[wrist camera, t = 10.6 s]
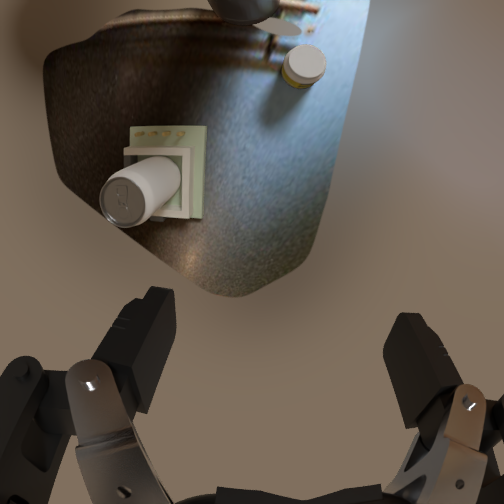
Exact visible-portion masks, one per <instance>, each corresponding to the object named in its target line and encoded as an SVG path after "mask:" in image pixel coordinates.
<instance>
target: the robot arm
mask: <svg viewBox="0 0 504 504" xmlns="http://www.w3.org/2000/svg"><path fill="white" fill-rule="evenodd" d="M208 2H209V4H210V5H211V7H212V9H213V10H214V12H215V13H216V15H217V16H218V17H220V18H221V19H222V20H224V21H226V22H228V23H231V24H235V25H252V24H257V23H260V22H262V21H264V20H266V19H267V18H269V17H270V16H272V15H273V14H274V13H275V11H276V10H277V8H278V6H279V2H280V0H208ZM175 334H176V312H175V298H174V291H173V289H168V288H161V287H155V286H151V287H150V288H149V290H148V291H147V293H146V295H145V296H144V298H143V299H138V298H135V299H134V300H132V301H131V302H129V303H128V304H126V305H125V306H124V307H123V309H122V310H121V312H120V313H119V315H118V318H116V320H115V321H114V323H113V324H112V327H110V329H109V331H108V332H107V334H106V336H105V337H104V339H103V340H102V342H101V343H100V345H99V346H98V348H97V350H96V352H95V353H94V355H93V356H92V358H91V359H87V360H82V361H80V362H77V363H76V364H74V365H73V366H72V367H71V368H70V369H69V371H54V370H43V368H42V366H41V364H40V363H39V361H38V360H37V359H35V358H34V357H30V356H21V357H18V358H16V359H14V360H13V361H11V363H9V364H8V366H7V367H6V369H5V370H4V372H3V373H2V375H1V376H0V504H48V501H49V498H50V495H51V491H52V488H53V485H54V482H55V479H56V475H57V473H58V469H59V466H60V464H61V461H62V458H63V455H64V453H65V450H66V447H67V444H68V442H69V439H70V437H71V435H76V436H77V438H78V442H79V445H78V446H76V448H75V451H76V457H77V461H78V464H79V467H80V470H81V473H82V476H83V479H84V482H85V485H86V487H87V490H88V493H89V495H90V498H91V500H92V503H93V504H174V502H173V500H172V499H171V497H170V495H169V494H168V492H167V490H166V488H165V487H164V485H163V483H162V481H161V480H160V478H159V476H158V474H157V472H156V471H155V469H154V467H153V465H152V463H151V461H150V459H149V457H148V455H147V453H146V451H145V449H144V447H143V444H142V442H141V440H140V438H139V436H138V433H137V431H136V429H135V426H134V424H133V419H134V416H135V413H136V411H137V412H141V413H145V414H147V413H148V410H149V407H150V404H151V401H152V398H153V396H154V393H155V390H156V387H157V384H158V382H159V379H160V376H161V374H162V371H163V368H164V365H165V363H166V360H167V358H168V355H169V352H170V350H171V347H172V344H173V342H174V339H175ZM383 358H384V361H385V364H386V367H387V370H388V373H389V376H390V379H391V382H392V385H393V388H394V391H395V394H396V397H397V401H398V404H399V407H400V410H401V414H402V417H403V421H404V424H405V428H406V429H409V428H415V427H418V429H419V432H418V433H417V434H416V435H415V437H414V439H413V442H412V444H411V446H410V449H409V451H408V453H407V455H406V457H405V459H404V461H403V463H402V465H401V467H400V469H399V471H398V473H397V475H396V476H395V478H394V479H393V480H392V482H391V483H390V484H389V485H388V486H387V487H386V488H385V490H384V491H383V492H382V490H381V484H377V485H371V486H363V487H356V488H347V489H343V490H340V491H337V492H334V493H330V494H327V495H324V496H321V497H317V498H313V499H310V500H297V499H292V498H288V497H283V496H279V495H275V494H271V493H267V492H263V491H257V490H244V489H234V488H224V487H217V491H216V494H205V495H199V496H195V497H191V498H187V499H185V500H182V501H179V502H177V503H175V504H504V474H503V475H502V476H500V472H499V469H498V465H497V461H496V458H495V454H494V451H493V447H494V446H495V445H496V444H497V443H498V442H500V441H501V440H502V439H503V442H504V394H503V396H502V397H501V398H500V399H499V400H498V401H493V400H487V399H485V397H484V395H483V393H482V392H481V391H480V390H479V389H478V388H477V387H475V386H473V385H470V384H464V383H463V381H462V379H461V377H460V375H459V373H458V371H457V369H456V367H455V366H454V363H453V362H452V360H451V358H450V356H448V352H447V350H446V349H445V348H444V345H443V343H442V342H441V340H440V338H439V336H438V335H437V334H436V333H435V332H434V331H433V330H432V329H431V328H430V327H428V326H427V324H426V322H425V321H424V319H423V317H422V316H421V315H420V314H419V313H403V312H402V313H400V314H399V315H398V316H397V318H396V321H395V323H394V325H393V327H392V329H391V332H390V334H389V336H388V338H387V340H386V342H385V344H384V348H383Z"/></svg>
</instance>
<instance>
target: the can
mask: <svg viewBox="0 0 504 504" xmlns="http://www.w3.org/2000/svg"><path fill="white" fill-rule="evenodd" d="M180 182H181V175H180V171H179V168H178V167H177V165H176V164H175V163H174V162H173V161H172V160H171V159H170V158H168V157H165V156H153V157H150V158H147V159H145V160H142V161H140V162H138V163H135V164H133V165H131V166H128V167H126V168H124V169H122V170H120V171H118V172H116V173H115V174H113V175H112V176H111V177H110V178H109V179H108V181H107V182H106V183H105V184H104V186H103V187H102V189H101V192H100V207H101V210H102V212H103V214H104V216H105V217H106V219H107V220H108V221H109V222H111V223H112V224H113V225H115V226H118V227H121V228H129V227H132V226H136V225H139V224H141V223H143V222H145V221H146V220H147V219H148V218H150V217H151V216H152V215H153V214H154V213H155V212H156V211H157V210H158V209H159V208H160V207H161V206H163V205H164V204H165V203H166V202H167V201H168V200H169V199H170V198H171V197H172V196H173V195H174V194H175V193H176V192H177V190H178V189H179V186H180Z"/></svg>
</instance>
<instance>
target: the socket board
mask: <svg viewBox="0 0 504 504" xmlns="http://www.w3.org/2000/svg"><path fill="white" fill-rule="evenodd" d="M206 140H207V126H135V127H130V146H129V147H126V148H124V168H126V167H128V166H131V165H133V164H135V163H138V162H140V161H142V160H145V159H147V158H150V157H153V156H165V157H168V158H170V159H171V160H172V161H173V162H174V163H175V164H176V165H177V167H178V168H179V171H180V175H181V182H180V186H179V189H178V190H177V192H176V193H175V194H174V195H173V196H172V197H171V198H170V199H169V200H168V201H167V202H166V203H165V204H164V205H163V206H161V207H160V208H159V209H158V210H157V211H156V212H155V213H154V214H153V215H152V216H151V217H150V221H160V222H163V221H164V220H165V219H166V218H167V217H173V218H186V219H189V218H200V219H202V217H203V216H204V184H205V160H206Z"/></svg>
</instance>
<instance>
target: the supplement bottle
mask: <svg viewBox="0 0 504 504" xmlns="http://www.w3.org/2000/svg"><path fill="white" fill-rule="evenodd" d="M325 68H326V58H325V56H324V54H323V53H322V51H321V50H320V49H318V48H317V47H315V46H312V45H307V44H304V45H299V46H297V47H295V48H294V49H292V50H290V51H289V52H288V53H287V54H286V56H285V58H284V62H283V66H282V70H281V73H282V77H283V79H284V81H285V82H286V83H287V84H288V85H289V86H291V87H293V88H296V89H305V88H308V87H310V86H312V85H313V84H314V83H315V82H317V81H318V80H319V79H320V78H321V77H322V76H323V75H324V72H325Z"/></svg>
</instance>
